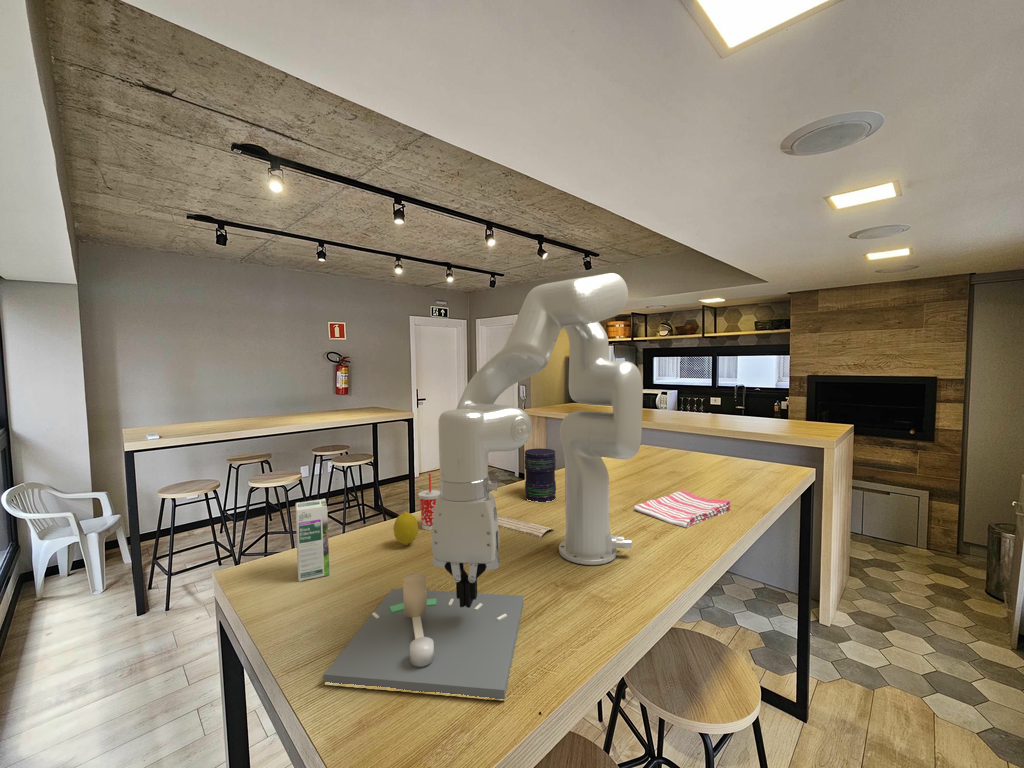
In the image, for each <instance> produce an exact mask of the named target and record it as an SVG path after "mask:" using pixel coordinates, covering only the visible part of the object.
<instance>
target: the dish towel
mask: <svg viewBox="0 0 1024 768" xmlns="http://www.w3.org/2000/svg"><path fill="white" fill-rule="evenodd" d="M730 508H731V501H730V500H729V499H710V498H709V499H708V498H706V497H702V496H698V495H695V494H693V493H691V492H689V491H686V490H683V489H681V490H678V491H675V492H673V493H671V494H668V495H664V496H662V497H659V498H658V497H657V498H656V499H651V500H650V499H649V500H647V501H645V502H642V503H636V504H634V506H633V509H634V511H637V512H638V513H640V514H643V515H646V516H649V517H652V518H655V519H657V520H661V521H662V522H665V523H668V524H671V525H674V526H678V527H682V528H684V529H687V528H690V527H691V526H693V525H697V524H700V523H702V522H703V521H706V520H709V519H713V518H714V517H716V516H718V517H719V516H721V515H723V514H726V513H727V512H730Z"/></svg>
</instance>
